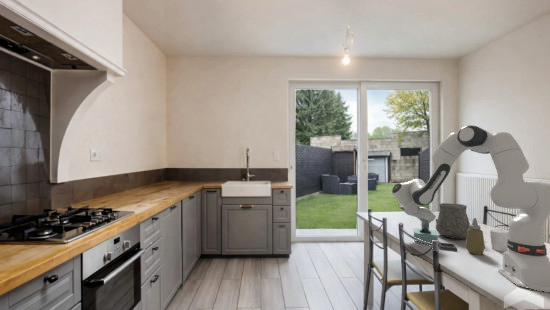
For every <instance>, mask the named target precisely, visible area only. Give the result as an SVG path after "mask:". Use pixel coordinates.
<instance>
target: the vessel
mask: <svg viewBox="0 0 550 310" xmlns="http://www.w3.org/2000/svg"><path fill="white" fill-rule="evenodd" d="M438 207H439V212H438V216H437V218H435V223H436V224H435V231H436V232H437V234H440V235H441V236H443V237H447V238H451V239H455V240H456V239H458V240H461V239H462V240H463V239H467V229H469V228H470V224H471V223H470V221H469V217H468V213H467V208H468V206H467V205H466V204H462V203H461V204H460V203H448V202H447V203H444V202H443V203H439V204H438Z"/></svg>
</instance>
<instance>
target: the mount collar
mask: <svg viewBox="0 0 550 310" xmlns="http://www.w3.org/2000/svg"><path fill="white" fill-rule="evenodd" d="M437 245H439V246H438V248H439V250H443V251H444V250H445V251H454V252H457V251H458V248H457V246H456V244H455V243H449V242H440V241H438V244H437Z"/></svg>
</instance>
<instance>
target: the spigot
mask: <svg viewBox="0 0 550 310" xmlns="http://www.w3.org/2000/svg"><path fill="white" fill-rule="evenodd" d="M420 222H421V224H420V225H421V229H422V233H429V230H430V223H427V220H426V219H422V218H421V221H420Z"/></svg>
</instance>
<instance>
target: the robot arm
mask: <svg viewBox="0 0 550 310" xmlns="http://www.w3.org/2000/svg"><path fill="white" fill-rule="evenodd" d="M468 150H470V151H471V152H475V153H478V154H483V155H485V154H486V155H488V154H490V157H491V160H492V162H493V164H494V167H495V169H496V173H497V181H496V183H495V184H494V185H493V186H492V188H491V190H490V199H491V201H492V203H493V204H494V205H495V206H497V207H500V208H503V209H510V210H519V211H518V213H517V214H516V215H515V216H514V217H512V218H510V220H509V221H508V232H509V239H508V242H507V247H508V250H507V251H506V252H504V251H503V253H502V254H503V255H502V268H499V269H498V270H497V272H498V273H499V274H500V275H502V276H503V277H504V278H506V279H507V280H508V281H510V282H511V283H513V284H514V283H515V284H516V285H515V284H514V285H515V286H517V285H518V286H517V287H519V286H523V287H528V288H531V289H534V290H533V291H536V290H537V292H542V291H544V292H543V293H549V292H550V259H549V257H548V256H547V255H548V252H547V251H548V250H547V247H546V244H545V227H546V223H547V220H548V217H549V216H550V183H546V182H537V181H535V182H533V181H532V182H528V181H527V182H526V181H525V180H524V174H525V173H526V172H528V170H529V169H530V164H529V163H528V160H527V158H526V156H525V153H524V152H523V150H522V148H521V147H520V144H519V143H518V141H517V140H516V139H515V137H514V136H513V135H512V134H511V133H509V132H506V131H500V132H496V133H491V132H489V131H488V130H486V129H484V128H482V127H479V126H477V125H466V126H463V127H461V128H460V129H459V130H458V132H451V133H450V134H448V136H447V137H445V139H443V140H442V142H441V143H440V144H439V145H438V146H437V147H436V149H435V150H434V151H433V153H432V155H431V156H432V157H431V160H432V163H433V172H432V174H431V176H430V177H429V179H428V180H427V181H426V182H425V181H424V180H423V179H421V178H413V179H411V180H409V181H406V182H398V183H396V184H394V186H393V187H392V189H391V190H392V191H391V192H392V195H393V196H394V198H395V200H396V201H398V202H399V204H400V206H399V208H400V209H401V210H402V211H403V212H404V213H405V214H406V215H407V216H411V217H414V218H416V219H418V220H420V222H421V218H422V219H426V220H427V223H429V224H431V223H432V222H434V221H435V220H436V219H437V218H436V216H437V215H435V214H434V212H432V211H431V210H430V209H429V208H427V207H425V206H427V205H430V204H431V203H432V202H433V201H434V199H435V196H436V193H437V192H438V191H439V189H440V187H441V186H442V185H443V183H444V182H445V180H446V179H447V177H448V176H449V174H450V171H451V169H452V167H453V166H454V164H455V162H457V160H458V159H459V158H460V156H461V155H462V154H463V153H464V152H466V151H468ZM398 202H397V203H398ZM423 206H424V207H423ZM531 289H530V290H531Z"/></svg>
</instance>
